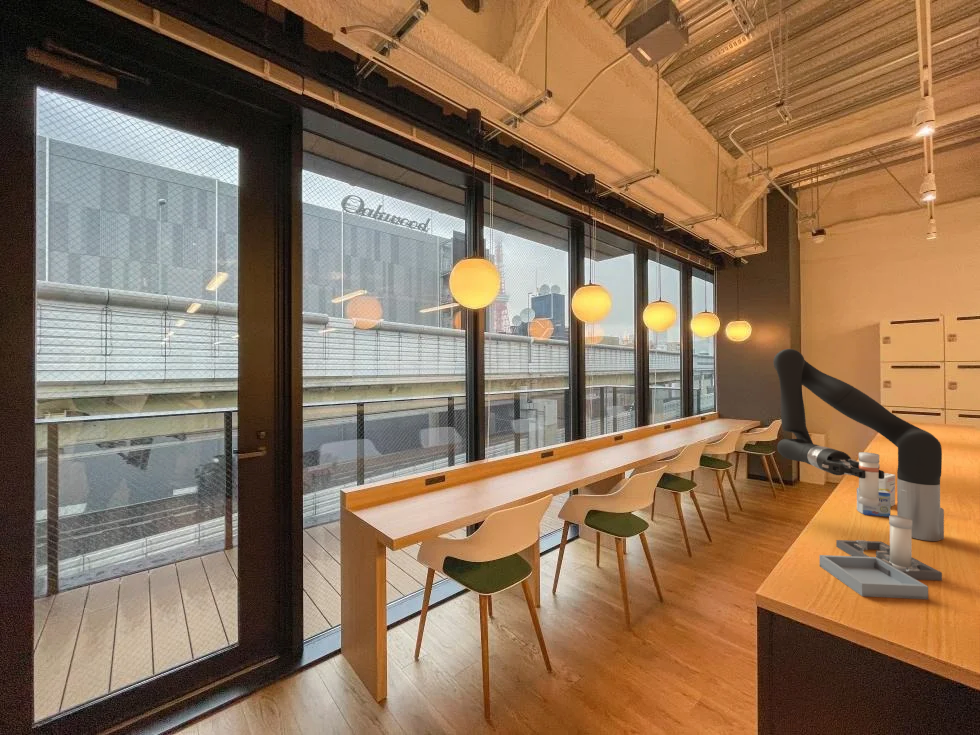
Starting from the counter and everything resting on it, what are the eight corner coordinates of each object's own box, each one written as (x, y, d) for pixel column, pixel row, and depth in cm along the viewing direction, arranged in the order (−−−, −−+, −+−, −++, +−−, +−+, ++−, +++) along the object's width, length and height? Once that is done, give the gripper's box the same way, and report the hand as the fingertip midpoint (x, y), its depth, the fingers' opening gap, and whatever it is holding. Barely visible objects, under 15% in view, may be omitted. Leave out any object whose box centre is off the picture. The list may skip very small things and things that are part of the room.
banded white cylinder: (870, 501, 113) (870, 452, 113) (883, 506, 109) (883, 455, 109) (854, 500, 114) (854, 452, 113) (866, 506, 109) (866, 455, 109)
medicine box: (862, 514, 143) (862, 490, 143) (856, 510, 147) (856, 487, 147) (891, 517, 140) (890, 493, 140) (884, 513, 144) (884, 489, 144)
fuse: (902, 567, 106) (901, 515, 106) (917, 575, 102) (916, 521, 102) (884, 566, 107) (884, 514, 107) (898, 574, 103) (898, 521, 102)
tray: (876, 568, 106) (876, 557, 106) (928, 599, 92) (928, 586, 92) (819, 566, 108) (819, 555, 107) (862, 596, 94) (862, 583, 94)
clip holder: (881, 548, 117) (881, 539, 117) (941, 580, 100) (942, 570, 100) (836, 546, 119) (836, 538, 118) (888, 578, 101) (888, 568, 101)
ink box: (886, 509, 148) (886, 469, 148) (869, 504, 152) (868, 466, 152) (896, 504, 152) (896, 466, 152) (878, 501, 156) (878, 463, 156)
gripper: (804, 447, 127) (845, 461, 110) (853, 448, 126) (902, 462, 109) (804, 471, 127) (845, 487, 110) (853, 472, 126) (902, 489, 109)
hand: (873, 475), depth 110 cm, fingers closed on banded white cylinder, 4 cm apart
